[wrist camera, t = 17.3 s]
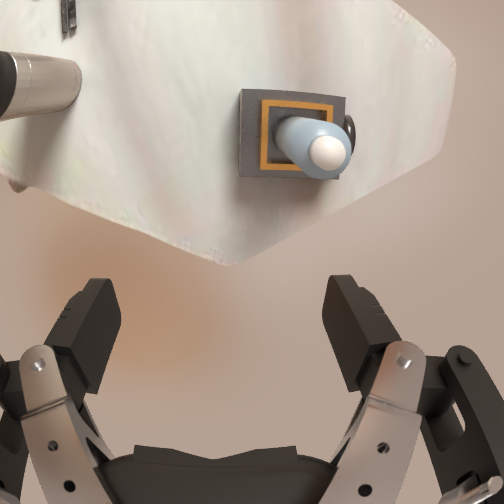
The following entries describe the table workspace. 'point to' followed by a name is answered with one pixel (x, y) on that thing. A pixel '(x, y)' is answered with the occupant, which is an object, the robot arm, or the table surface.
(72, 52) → the table surface
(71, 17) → the valve
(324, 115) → the gold-trimmed base block
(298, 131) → the light blue bottle
